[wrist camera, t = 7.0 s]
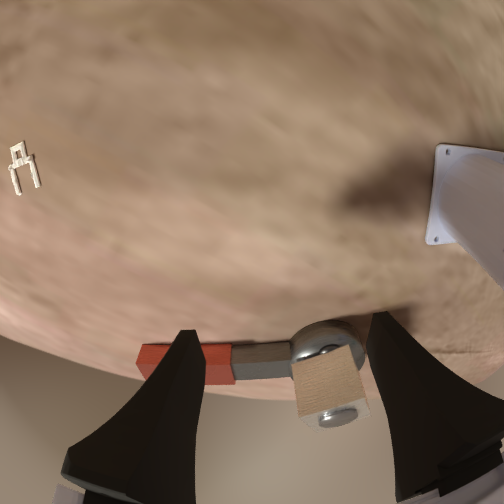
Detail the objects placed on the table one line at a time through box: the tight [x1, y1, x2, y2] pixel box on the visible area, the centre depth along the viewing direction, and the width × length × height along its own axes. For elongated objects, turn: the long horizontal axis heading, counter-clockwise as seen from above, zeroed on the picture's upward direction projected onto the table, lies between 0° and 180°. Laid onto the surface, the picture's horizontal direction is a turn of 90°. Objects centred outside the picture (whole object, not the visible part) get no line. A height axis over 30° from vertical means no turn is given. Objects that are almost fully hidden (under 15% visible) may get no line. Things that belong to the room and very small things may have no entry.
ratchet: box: [136, 320, 365, 385], centre depth 24 cm, size 21×7×5 cm, turn 96°
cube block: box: [291, 344, 371, 432], centre depth 21 cm, size 5×5×5 cm
